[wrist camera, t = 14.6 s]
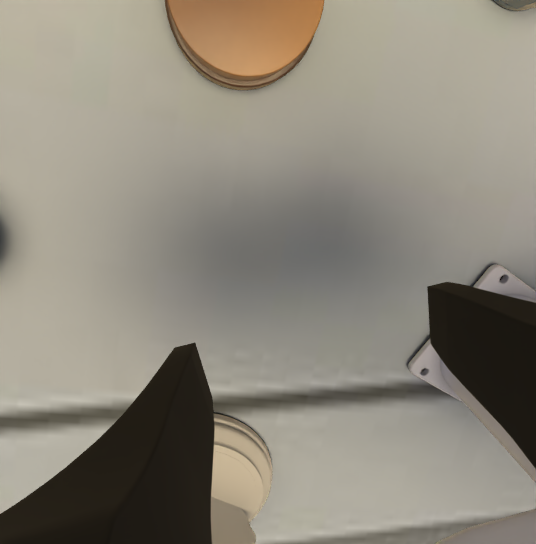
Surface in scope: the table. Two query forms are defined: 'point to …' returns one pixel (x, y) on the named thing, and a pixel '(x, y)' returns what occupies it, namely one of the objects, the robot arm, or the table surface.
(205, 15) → the copper chip
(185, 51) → the walnut chip
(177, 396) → the robot arm
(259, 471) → the chess piece
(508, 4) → the blue-grey cup
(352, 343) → the table surface
